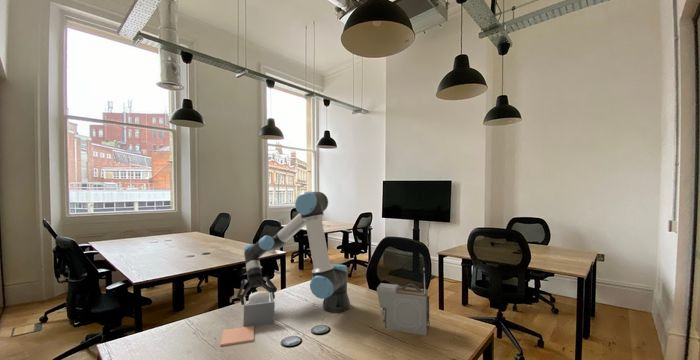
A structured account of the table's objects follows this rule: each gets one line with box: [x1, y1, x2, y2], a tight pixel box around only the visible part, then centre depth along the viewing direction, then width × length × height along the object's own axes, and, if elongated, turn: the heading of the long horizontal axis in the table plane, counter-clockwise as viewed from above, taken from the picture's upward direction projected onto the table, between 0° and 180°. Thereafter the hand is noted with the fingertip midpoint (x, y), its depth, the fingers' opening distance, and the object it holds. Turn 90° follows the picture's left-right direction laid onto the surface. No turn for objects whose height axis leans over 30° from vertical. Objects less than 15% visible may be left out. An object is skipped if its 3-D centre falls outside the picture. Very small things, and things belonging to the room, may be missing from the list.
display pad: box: [219, 326, 255, 347], centre depth 126 cm, size 13×13×1 cm
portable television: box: [376, 267, 431, 336], centre depth 136 cm, size 12×24×30 cm, turn 70°
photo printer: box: [248, 290, 270, 304], centre depth 147 cm, size 10×4×12 cm, turn 123°
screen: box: [242, 300, 275, 327], centre depth 137 cm, size 14×2×10 cm, turn 108°
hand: (259, 307), depth 145 cm, fingers open, 13 cm apart
